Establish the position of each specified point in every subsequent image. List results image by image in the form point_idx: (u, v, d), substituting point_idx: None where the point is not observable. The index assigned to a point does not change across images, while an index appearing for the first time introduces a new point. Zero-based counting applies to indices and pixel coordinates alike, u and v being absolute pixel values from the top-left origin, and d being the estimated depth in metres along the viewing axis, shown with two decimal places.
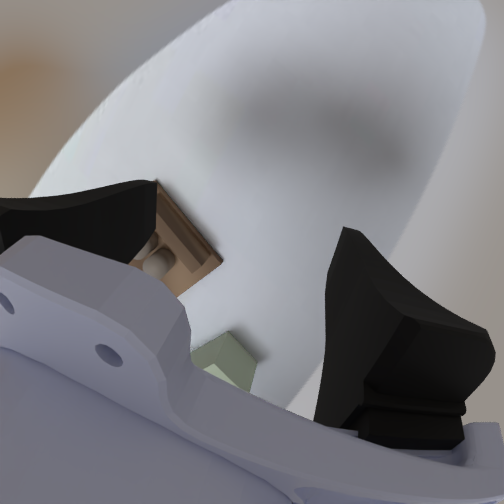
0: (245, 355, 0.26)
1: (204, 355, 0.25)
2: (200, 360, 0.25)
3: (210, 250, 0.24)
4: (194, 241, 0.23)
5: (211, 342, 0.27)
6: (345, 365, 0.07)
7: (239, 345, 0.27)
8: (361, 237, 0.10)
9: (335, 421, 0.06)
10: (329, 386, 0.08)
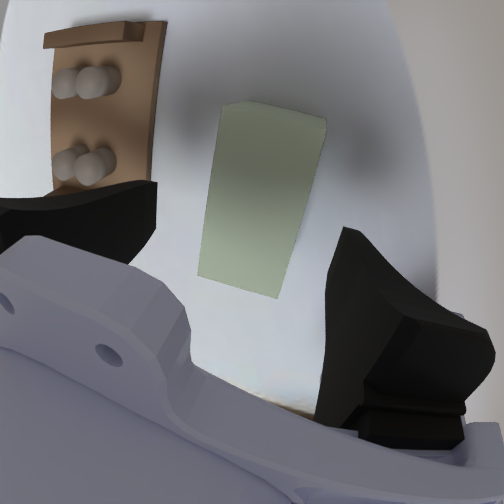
0: (295, 112, 0.14)
1: None
2: None
3: (142, 22, 0.13)
4: None
5: None
6: (345, 365, 0.07)
7: (277, 107, 0.15)
8: (361, 237, 0.10)
9: (335, 421, 0.06)
10: (329, 386, 0.08)
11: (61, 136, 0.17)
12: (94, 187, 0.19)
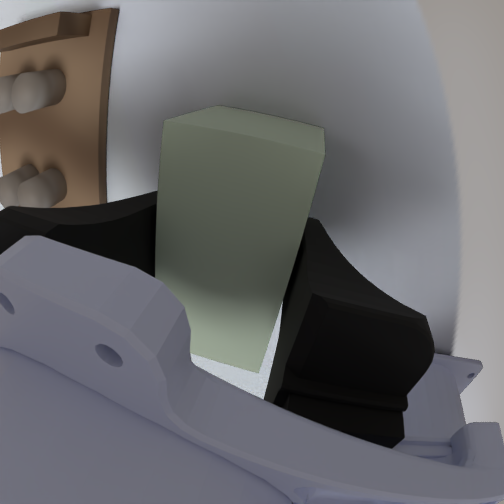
0: (280, 120, 0.10)
1: None
2: None
3: (89, 12, 0.09)
4: None
5: None
6: (282, 351, 0.07)
7: (257, 113, 0.11)
8: (316, 225, 0.10)
9: None
10: (272, 373, 0.08)
11: (10, 155, 0.13)
12: None
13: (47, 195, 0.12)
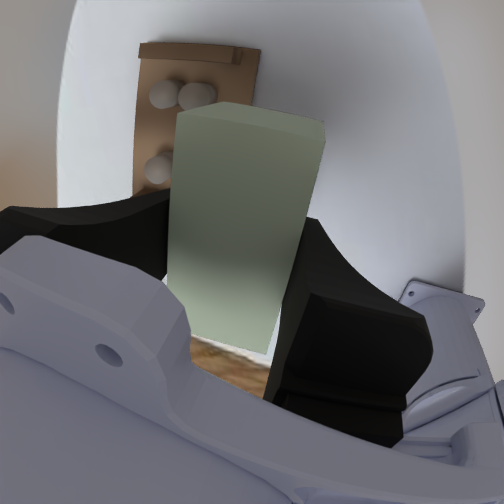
0: (283, 114, 0.11)
1: None
2: None
3: (238, 47, 0.17)
4: None
5: None
6: (280, 351, 0.07)
7: (260, 108, 0.11)
8: (315, 225, 0.10)
9: None
10: (271, 373, 0.08)
11: (147, 142, 0.21)
12: None
13: None
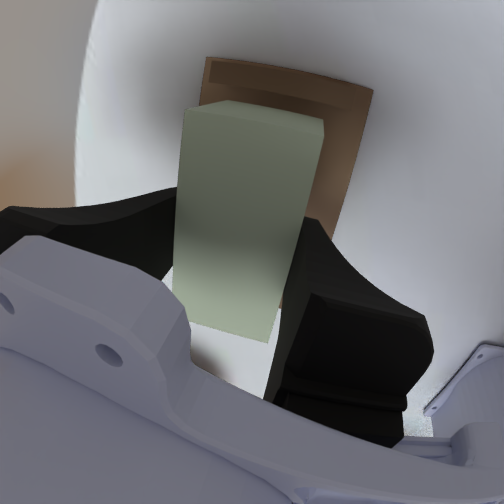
0: (284, 112, 0.11)
1: None
2: None
3: None
4: None
5: None
6: (281, 351, 0.07)
7: (263, 107, 0.12)
8: (315, 225, 0.10)
9: None
10: (272, 373, 0.08)
11: None
12: None
13: None
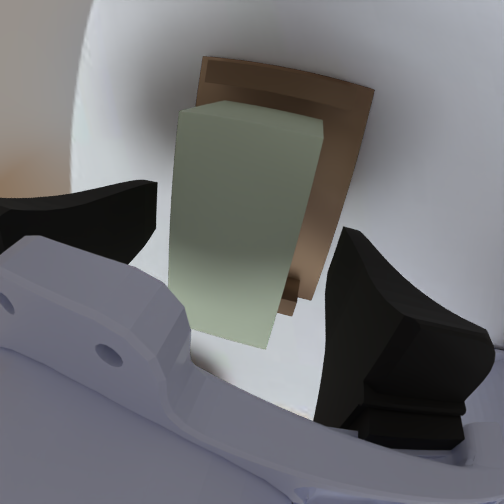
0: (283, 112, 0.11)
1: None
2: None
3: (346, 81, 0.12)
4: None
5: None
6: (345, 365, 0.07)
7: (261, 107, 0.11)
8: (361, 237, 0.10)
9: (335, 421, 0.06)
10: (329, 386, 0.08)
11: None
12: None
13: None
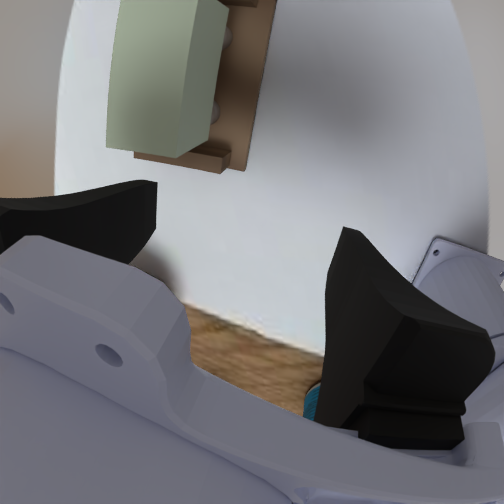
0: None
1: None
2: None
3: None
4: None
5: None
6: (345, 365, 0.07)
7: None
8: (361, 237, 0.10)
9: (335, 421, 0.06)
10: (329, 386, 0.08)
11: None
12: None
13: (213, 113, 0.17)
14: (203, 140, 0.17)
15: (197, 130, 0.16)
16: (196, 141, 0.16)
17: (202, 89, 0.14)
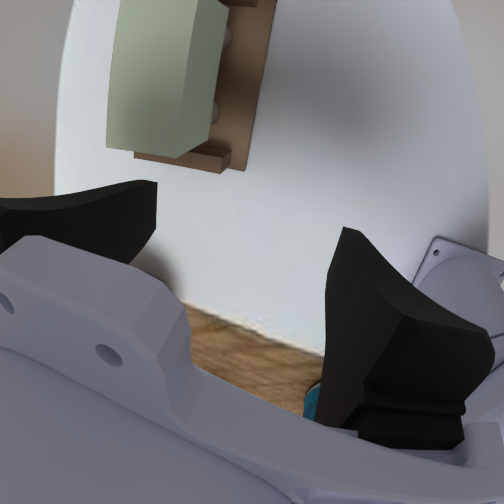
0: None
1: None
2: None
3: None
4: None
5: None
6: (345, 365, 0.07)
7: None
8: (361, 237, 0.10)
9: (335, 421, 0.06)
10: (329, 386, 0.08)
11: None
12: None
13: (213, 113, 0.17)
14: (203, 140, 0.17)
15: (197, 130, 0.16)
16: (196, 141, 0.16)
17: (202, 89, 0.14)
